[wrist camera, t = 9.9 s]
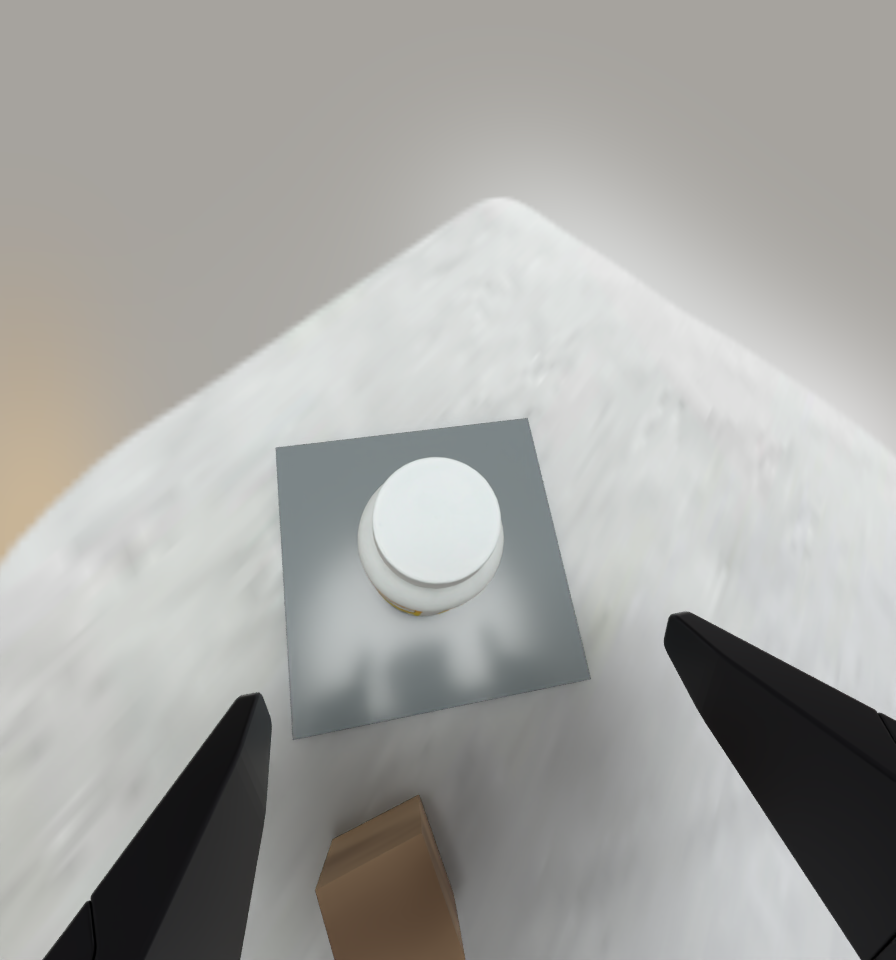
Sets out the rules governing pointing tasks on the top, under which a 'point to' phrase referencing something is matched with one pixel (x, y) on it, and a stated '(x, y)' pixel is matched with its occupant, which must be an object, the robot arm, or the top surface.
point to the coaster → (403, 637)
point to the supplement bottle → (431, 536)
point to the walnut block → (389, 891)
